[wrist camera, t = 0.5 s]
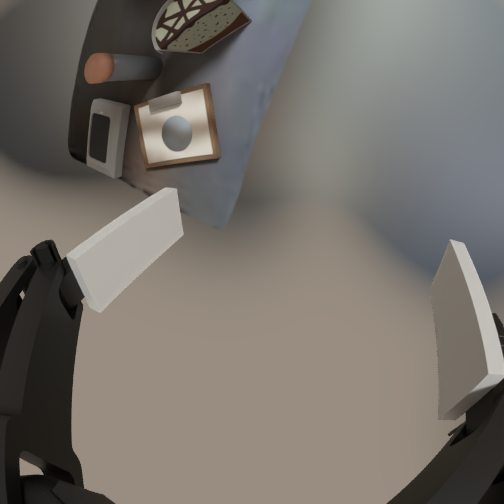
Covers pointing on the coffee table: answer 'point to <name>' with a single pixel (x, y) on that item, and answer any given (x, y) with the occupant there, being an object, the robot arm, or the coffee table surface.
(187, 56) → the coffee table surface
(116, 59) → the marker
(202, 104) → the clipboard
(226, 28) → the food container
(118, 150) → the grey framed panel
